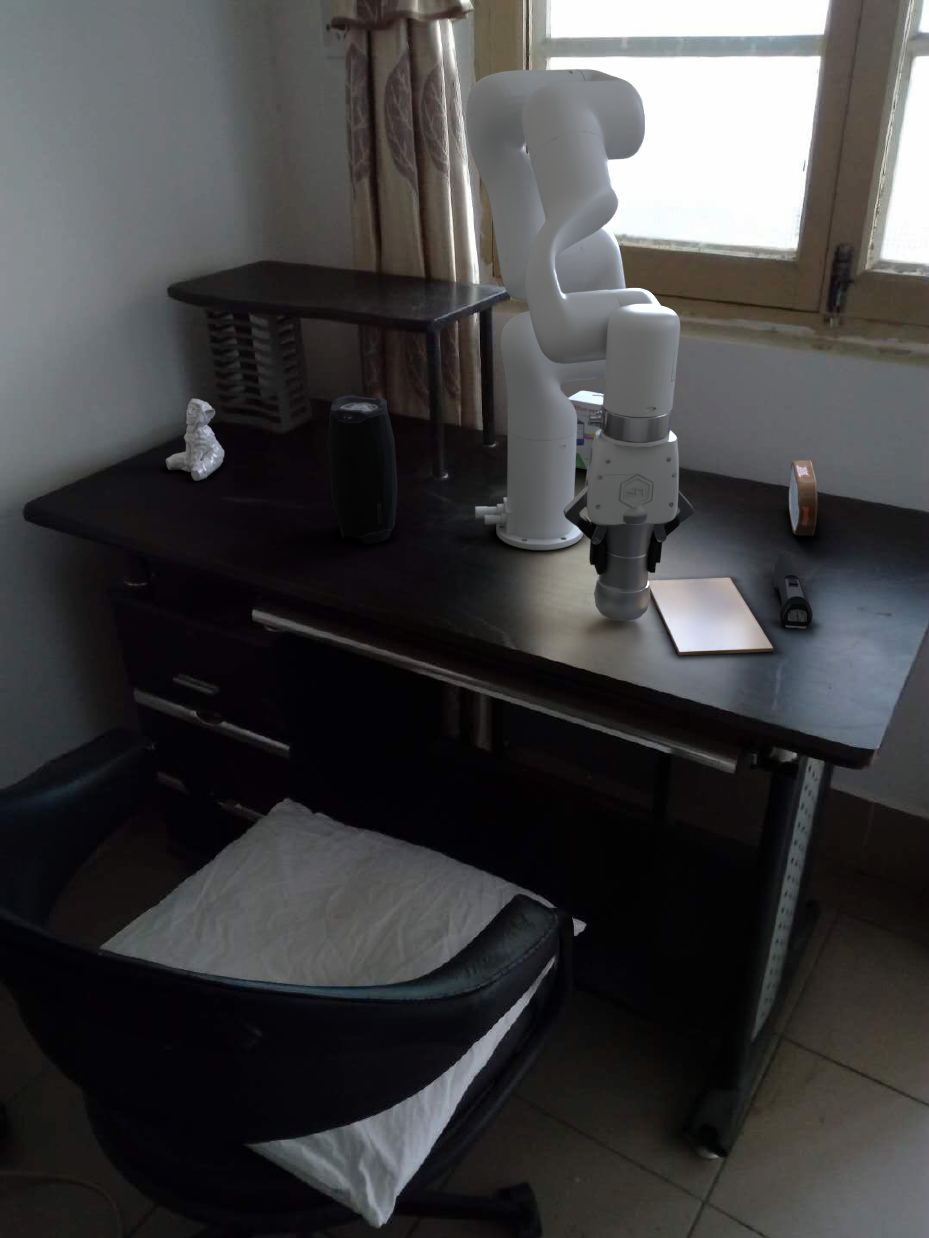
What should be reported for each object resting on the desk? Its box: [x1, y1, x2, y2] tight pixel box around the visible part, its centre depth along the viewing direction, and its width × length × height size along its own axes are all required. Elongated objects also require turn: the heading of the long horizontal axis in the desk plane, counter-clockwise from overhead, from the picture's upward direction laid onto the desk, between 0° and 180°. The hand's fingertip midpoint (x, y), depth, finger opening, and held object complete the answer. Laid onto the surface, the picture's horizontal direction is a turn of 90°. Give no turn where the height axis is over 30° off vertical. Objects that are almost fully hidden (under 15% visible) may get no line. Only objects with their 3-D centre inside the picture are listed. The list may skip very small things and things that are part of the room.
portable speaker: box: [327, 394, 398, 545], centre depth 142 cm, size 9×9×20 cm
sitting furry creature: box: [165, 398, 225, 482], centre depth 168 cm, size 10×9×12 cm
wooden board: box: [648, 577, 774, 656], centre depth 124 cm, size 11×18×1 cm, turn 3°
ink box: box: [567, 390, 603, 470], centre depth 166 cm, size 9×5×12 cm, turn 55°
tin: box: [788, 459, 818, 537], centre depth 146 cm, size 15×3×8 cm, turn 168°
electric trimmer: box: [773, 551, 813, 629], centre depth 127 cm, size 4×16×3 cm, turn 170°
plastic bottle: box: [593, 505, 654, 622], centre depth 118 cm, size 6×7×20 cm
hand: (624, 567), depth 120 cm, fingers closed on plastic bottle, 5 cm apart
